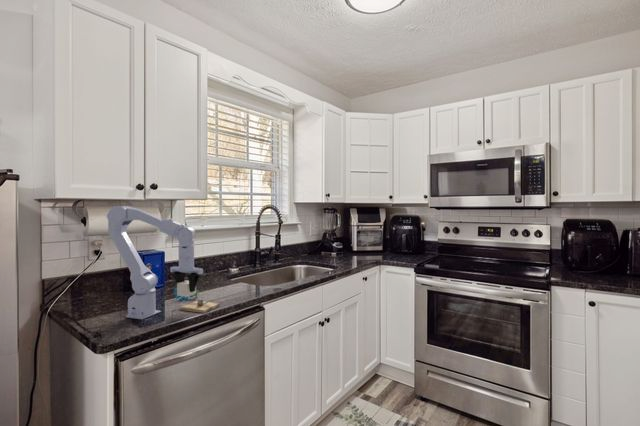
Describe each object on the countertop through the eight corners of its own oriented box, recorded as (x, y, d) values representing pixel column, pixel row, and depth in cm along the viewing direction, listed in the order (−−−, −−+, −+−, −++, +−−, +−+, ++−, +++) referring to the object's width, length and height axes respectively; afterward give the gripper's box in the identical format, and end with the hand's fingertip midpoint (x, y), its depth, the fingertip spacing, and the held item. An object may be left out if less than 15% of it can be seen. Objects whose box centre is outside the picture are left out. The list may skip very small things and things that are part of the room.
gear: (169, 297, 148) (179, 278, 155) (172, 303, 152) (182, 285, 159) (193, 301, 147) (201, 282, 154) (195, 307, 152) (204, 288, 159)
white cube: (196, 293, 133) (195, 280, 133) (187, 296, 128) (187, 283, 128) (186, 292, 135) (185, 279, 135) (177, 295, 130) (177, 282, 130)
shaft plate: (204, 312, 132) (204, 304, 132) (180, 309, 136) (180, 301, 135) (219, 305, 141) (219, 297, 141) (196, 303, 145) (196, 295, 145)
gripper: (164, 257, 130) (164, 291, 130) (194, 259, 125) (194, 294, 125) (177, 255, 136) (177, 287, 137) (206, 256, 132) (206, 290, 132)
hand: (186, 290), depth 131 cm, fingers closed on white cube, 5 cm apart
